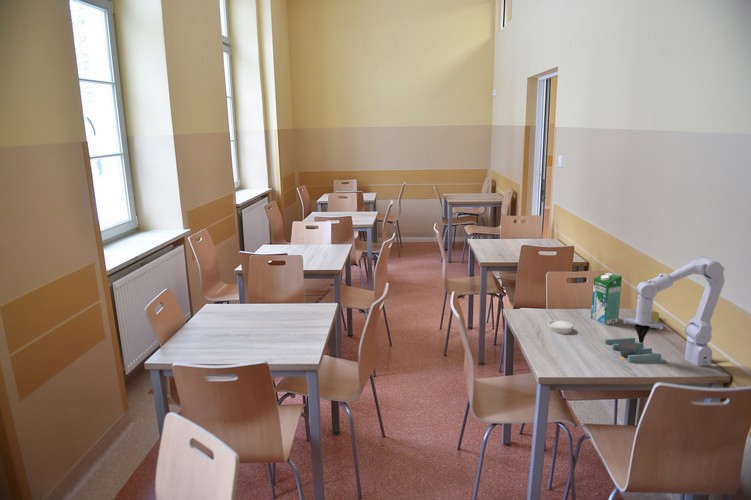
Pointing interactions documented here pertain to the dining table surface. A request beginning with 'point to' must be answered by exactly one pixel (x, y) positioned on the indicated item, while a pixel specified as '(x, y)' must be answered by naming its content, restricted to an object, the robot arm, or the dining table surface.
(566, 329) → the ramekin
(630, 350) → the panel
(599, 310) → the milk carton
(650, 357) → the slot rack
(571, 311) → the dining table surface
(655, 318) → the plastic component
